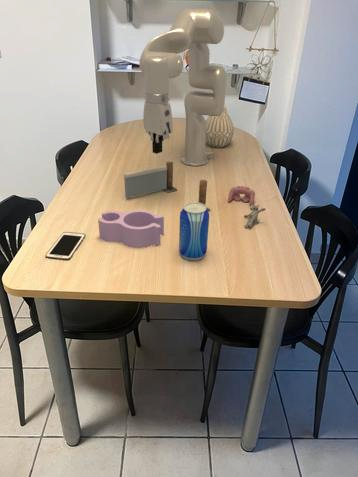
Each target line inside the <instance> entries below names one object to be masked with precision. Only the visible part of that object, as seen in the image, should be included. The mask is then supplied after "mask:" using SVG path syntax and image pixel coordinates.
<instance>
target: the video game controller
mask: <svg viewBox="0 0 358 477" xmlns="http://www.w3.org/2000/svg"><path fill="white" fill-rule="evenodd" d="M241 195H244V196H243V197H241ZM255 196H256V193H255V190H253V188H250V187H249V186H244V185H243V186H242V185H237V186H236V185H234V186H233V187H232V188H230V191H229V193H228V198H227V202H228V203H231V202H232V201H233V198H234V200H235V201H237V202H238V201H240V200H241V199H242V201H243V202H244V203H248V202H249V207H251V205H253V206H254V202H255Z"/></svg>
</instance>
